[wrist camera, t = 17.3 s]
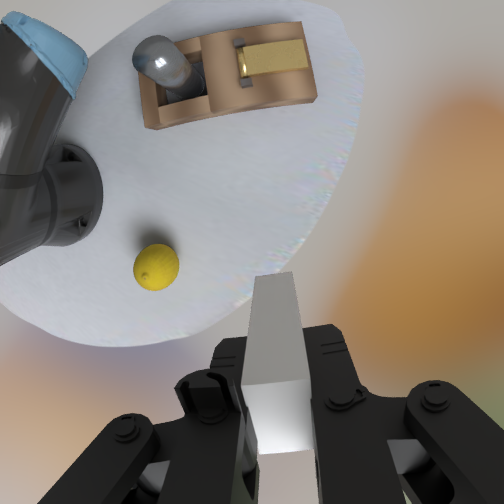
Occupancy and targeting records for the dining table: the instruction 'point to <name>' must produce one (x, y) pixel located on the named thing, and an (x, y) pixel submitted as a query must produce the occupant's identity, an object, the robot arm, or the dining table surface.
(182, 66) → the peg
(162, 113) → the block
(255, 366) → the robot arm
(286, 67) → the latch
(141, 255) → the lemon
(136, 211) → the dining table surface
